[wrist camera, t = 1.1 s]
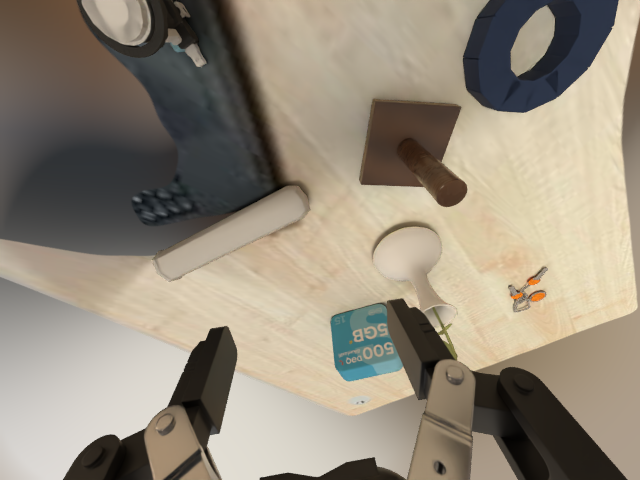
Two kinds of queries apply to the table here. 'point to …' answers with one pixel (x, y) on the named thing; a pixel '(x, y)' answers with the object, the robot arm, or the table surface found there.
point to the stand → (412, 148)
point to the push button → (142, 26)
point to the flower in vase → (416, 271)
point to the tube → (232, 233)
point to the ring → (552, 70)
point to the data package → (363, 343)
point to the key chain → (532, 298)
